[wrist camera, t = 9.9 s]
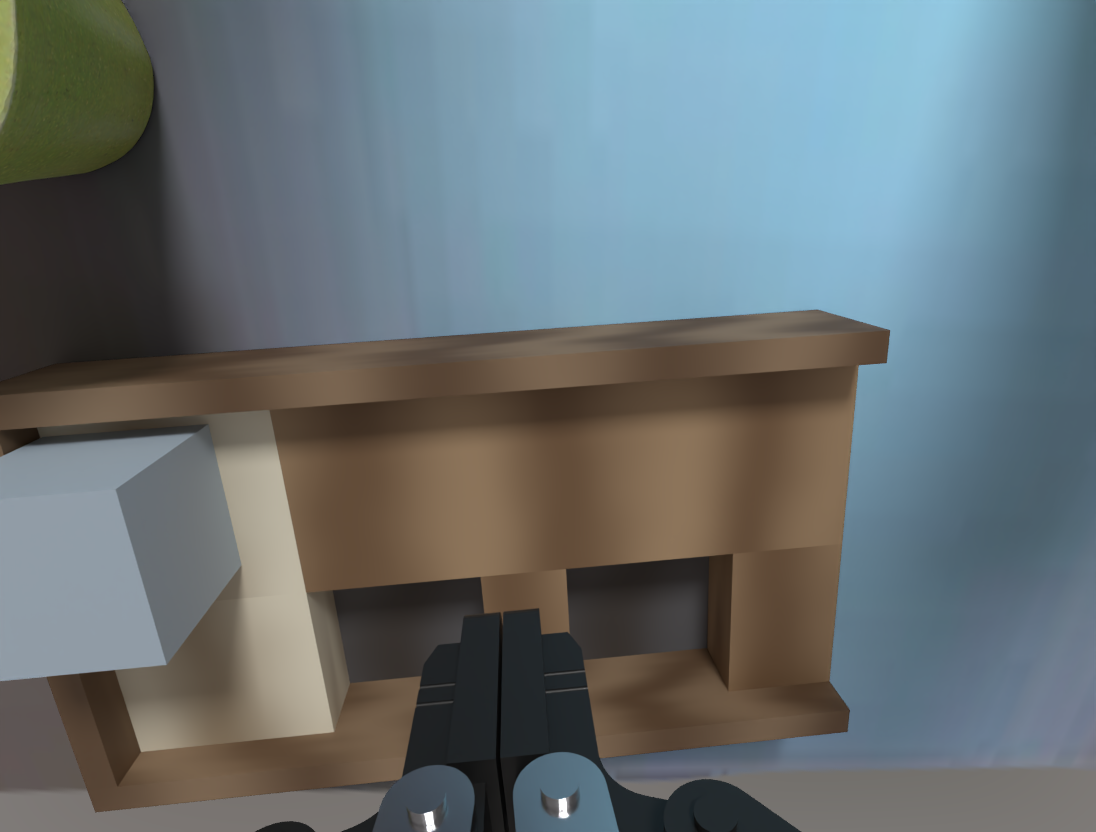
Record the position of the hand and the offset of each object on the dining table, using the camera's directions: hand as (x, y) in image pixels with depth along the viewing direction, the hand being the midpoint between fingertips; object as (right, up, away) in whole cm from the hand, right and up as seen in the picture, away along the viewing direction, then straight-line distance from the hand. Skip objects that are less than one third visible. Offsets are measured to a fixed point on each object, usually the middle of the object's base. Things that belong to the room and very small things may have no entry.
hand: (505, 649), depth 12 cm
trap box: (-2, 0, +12) cm, 12 cm away
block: (-12, +2, +8) cm, 15 cm away
